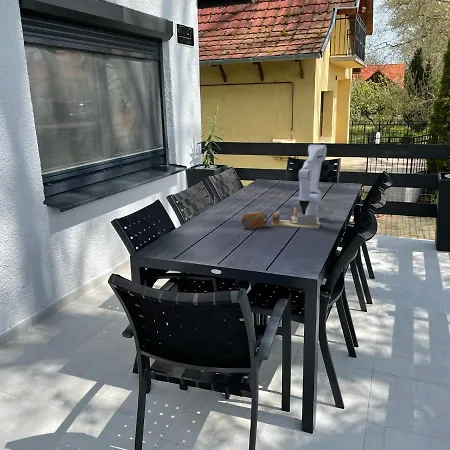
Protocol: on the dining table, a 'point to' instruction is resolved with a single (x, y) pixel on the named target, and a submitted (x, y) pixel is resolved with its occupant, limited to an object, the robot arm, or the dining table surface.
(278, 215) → the socket block
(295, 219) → the white bar
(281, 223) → the base board
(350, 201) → the dining table surface
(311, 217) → the grey rectangular sleeve
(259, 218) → the tin
